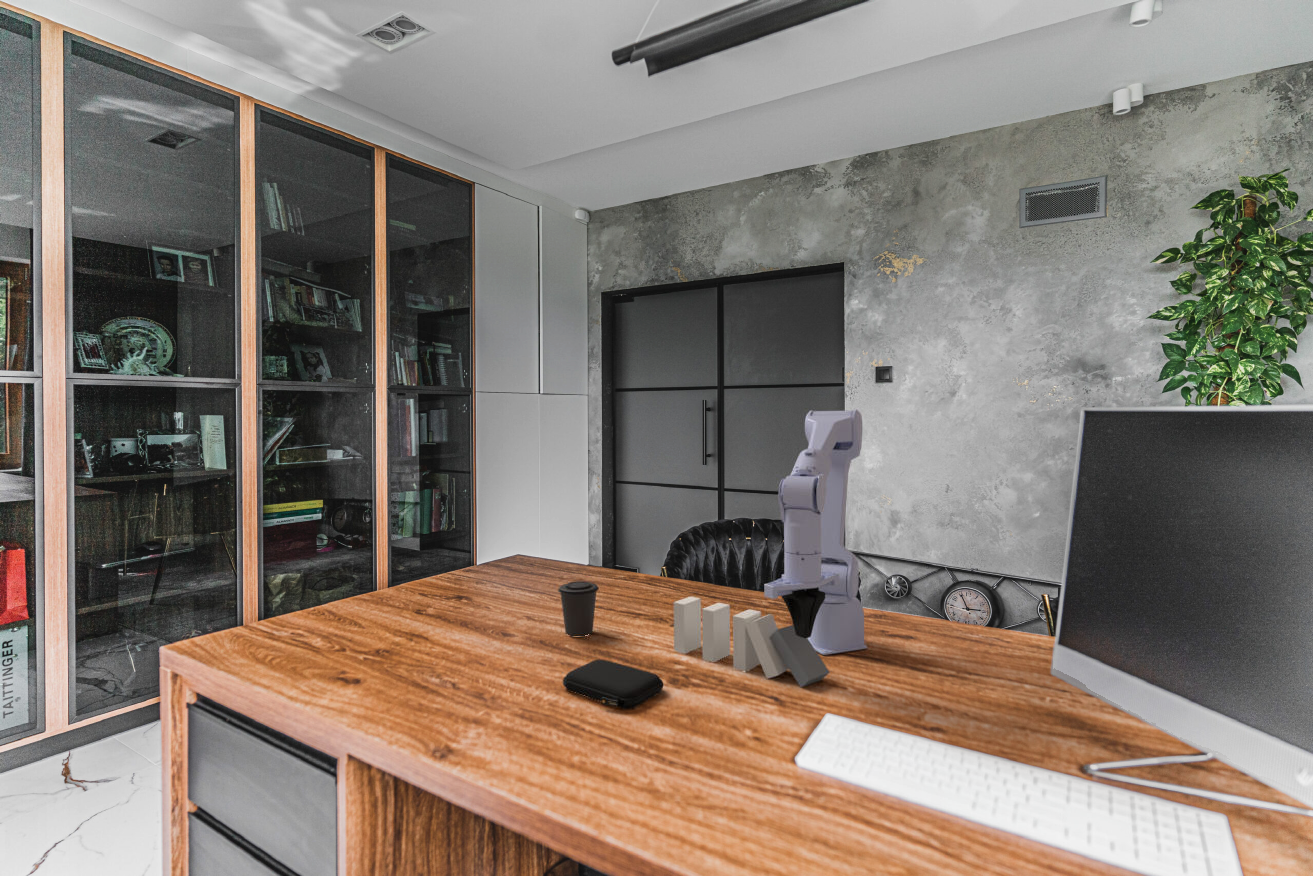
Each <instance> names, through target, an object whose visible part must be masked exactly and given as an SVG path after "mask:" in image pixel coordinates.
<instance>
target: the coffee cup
mask: <svg viewBox="0 0 1313 876" xmlns="http://www.w3.org/2000/svg"><path fill="white" fill-rule="evenodd" d="M598 590H599V586H598V584H596V583H594V582H589V581H586V580H585V581H584V580H578V581H570V582H567V583H564V584H562V585H559V587H558V590H557V591H558V592H559V593H560V599H561V609H562V615H563V622H564V630H565V635H566V634H568V635H570V636H585V635H588V634H591V633H592V632H593V630H594V621H595V611H596V610H595V609H596V598H597V591H598ZM592 634H593V633H592ZM592 634H591V635H592Z"/></svg>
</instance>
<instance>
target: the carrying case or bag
mask: <svg viewBox="0 0 1313 876" xmlns="http://www.w3.org/2000/svg"><path fill="white" fill-rule="evenodd" d="M562 684H563V687H564V688H565V689H566V691H569V690H570V691H569V692H571V691H573V692H572V693H574V692H576V693H575V694H577V693H579V694H578V695H580V694H582V695H585V696H588V697H590V698H589V699H591V698H593V699H592V700H594V699H596V700H595V701H597V700H599V701H598V702H600V701H601V702H600V703H601V705H604V706H613V705H614V706H613V707H616V706H617V708H619V707H620V709H623V708H624V710H632V709H634V707H635V708H636V706H637V707H638V706H640V705H642V704H643V703H645V702H646V700H647V701H648V700H650V699H652V698H653V697H655V696H657V695H658V694H659V693H660V692H661V691H662V690H663V689H664V682H663V680H662V678H661V677H660V676H659V675H657V674H656V673H652V672H650V671H645V670H642V669H639V668H636V667H632V666H628V665H625V664H621V663H618V662H614V661H609V660H606V659H599V658H598V659H595V660H592V661H590V662H588V663H586V664H583V665H581V666H579V667H577V668H575V669H573V670H571V671H569V672H568V673H567V674H565V676H564V678H563V679H562ZM656 694H657V695H656ZM582 695H581V696H582ZM654 695H655V696H654ZM585 696H584V697H585ZM588 697H587V698H588ZM651 697H652V698H651ZM649 698H650V699H649ZM641 703H642V704H641ZM631 708H632V709H631Z"/></svg>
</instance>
